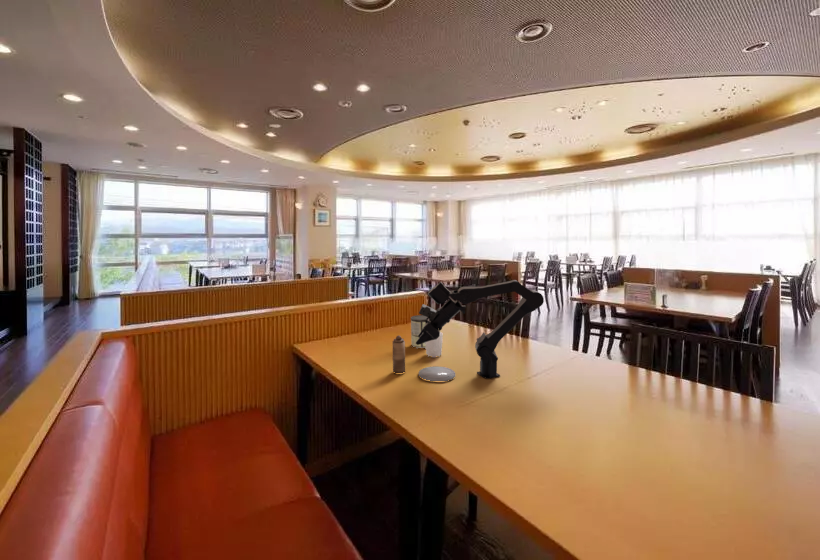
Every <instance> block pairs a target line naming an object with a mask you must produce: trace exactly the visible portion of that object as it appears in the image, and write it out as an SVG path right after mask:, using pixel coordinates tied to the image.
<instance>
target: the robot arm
mask: <svg viewBox="0 0 820 560" xmlns="http://www.w3.org/2000/svg"><path fill="white" fill-rule="evenodd" d="M508 293H516V294H517V295H519V296H520V297H521V298H520V300H519V302H518V304H517V306H516V307H515V308H514V309H512V311H511V312H510V313H509V314H508V315H507V316H506V317H505V318H504V319H503V320H502V321H500V323H499V324H497V326H496V327H495V328H494V329H493V330H491V332H490V333H487V334H486V333H485V332H483V333H481V335H480V336H479V337H477V338H476V342H475V343H474V345H475V346H474V347H475V352H476V354H477V356H479V358H480V361H479V371H476V374H477V375H479V376H481V378H482V377H483V378H484V379H486V380H488V379H492V378H493V379H495V378H498V377H501V374H499V373H497V372H498V359H499V357H498V355H497V353H496V351H495V350H496V348H497V346H498V345H499V342H500V341H501V340H502V339H503V338H505V336H506V335H507V334H508V333H509V332H511V330H512V329H513V328H514V327H515V326H516V325H517V324H518V323H520V321H522V320H523V319H524V317H526V316H527V315H528V314H530V313H532V312H535V311H536V310H537V309H539V308H540V307H542V305H543V304H544V302H545V300H544V296H543V294H541V292H539V291H537V290H535V289H529V288H527V287H526V286H525V285H522V284H521V283H520V282H519V281H518V280H516V279H512V280H510V281H509V280H508V281H504V282H499V283H494V284H488V285H482V286H461V287H460V288H458V289H455V290H449V289H448V288H447V287H446V286H445V285H444V283H443V282H441V281H440V282H438V283H437V284H436V285H435V286H433V287H432V288H431V289H430V291H429V292H428V293H427V295H428V296H429V298H431V299H432V300H433V301H434V302H435V303H436V304H437V305H442V306H441V307H440V308H437V309H434V308H433V307H430V306H428V305H426V304H424V303H423V304H422V305H421V306H420V309H419V311H418V314H419V315H424V316H426V317H427V318H426V324H425V326H424V327H423V329H422V331H421V332H420V334H419V335H418V337H419V339H418V340H417V342H416V344H417V345H419V344H422V343H425V342H428V341H431V340H436V339H437V338H438V337H439V336H440V332H441V330H443V328H444V326H445V325H446V324H449V323H450V322H451V320H452V319H453V318H454V317H455V316H456V315H457V314H458V313H459V312H461V313H462V314H464V315H465V314H466V309H467V308H466V307H467V306H466V305H468V304H471V303H473V302H476V301H478V300H480V299H482V298H486V297H491V296H497V295H504V294H508ZM462 304H463V305H462Z"/></svg>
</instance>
